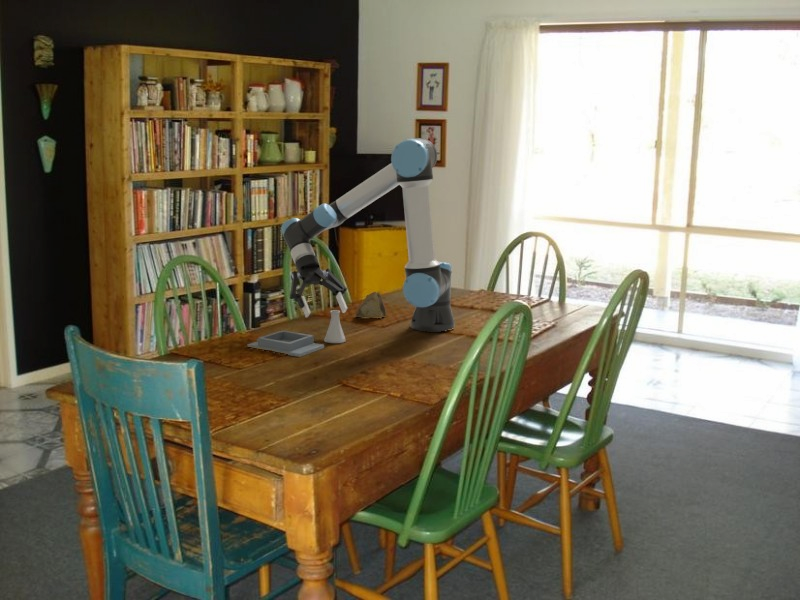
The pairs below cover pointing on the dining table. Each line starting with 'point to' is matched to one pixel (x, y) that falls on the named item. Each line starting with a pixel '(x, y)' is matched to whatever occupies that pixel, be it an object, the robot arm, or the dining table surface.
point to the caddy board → (288, 343)
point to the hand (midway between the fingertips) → (326, 312)
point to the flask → (335, 329)
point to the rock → (371, 306)
